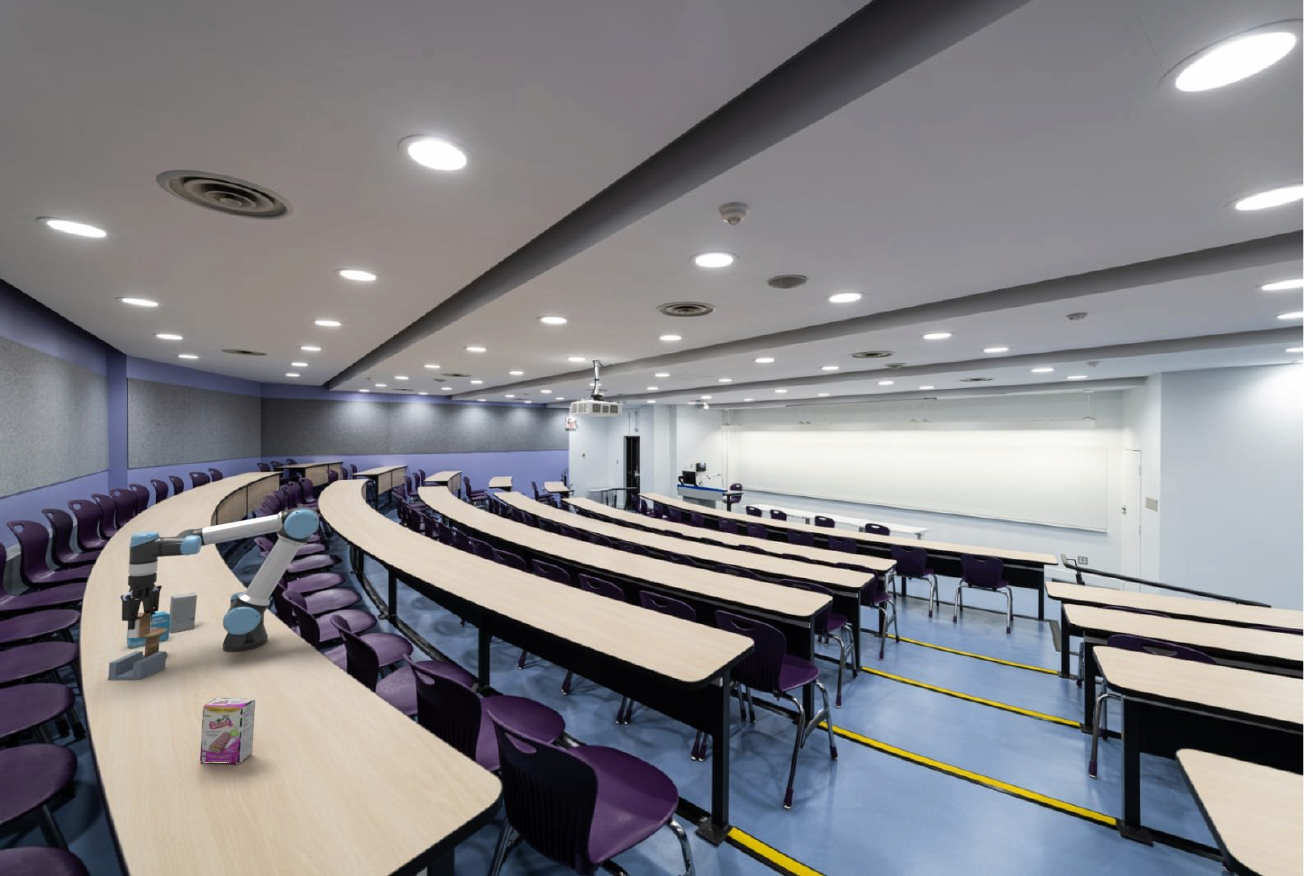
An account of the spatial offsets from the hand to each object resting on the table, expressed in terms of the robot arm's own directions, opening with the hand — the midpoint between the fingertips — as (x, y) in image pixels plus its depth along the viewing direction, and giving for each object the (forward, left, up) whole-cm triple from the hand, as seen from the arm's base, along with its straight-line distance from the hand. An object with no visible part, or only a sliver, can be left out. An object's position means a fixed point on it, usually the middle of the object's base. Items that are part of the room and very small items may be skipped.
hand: (139, 634), depth 183 cm
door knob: (+6, -12, -15) cm, 20 cm away
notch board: (0, 0, -15) cm, 15 cm away
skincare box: (+21, -43, -15) cm, 50 cm away
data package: (+21, -27, -15) cm, 37 cm away
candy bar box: (-71, +51, -15) cm, 88 cm away
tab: (0, 0, 0) cm, 0 cm away
